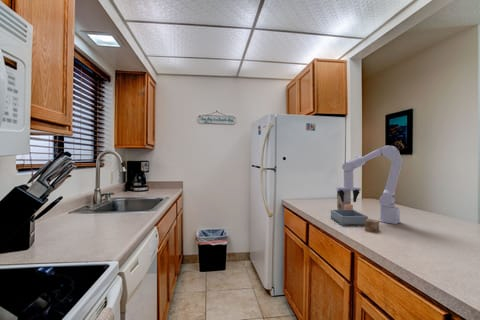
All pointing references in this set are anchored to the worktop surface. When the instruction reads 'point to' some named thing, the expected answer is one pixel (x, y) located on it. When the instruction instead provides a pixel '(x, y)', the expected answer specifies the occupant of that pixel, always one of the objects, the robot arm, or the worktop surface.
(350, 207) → the peach rounded cylinder
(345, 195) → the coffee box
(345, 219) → the slate tote
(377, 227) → the walnut block
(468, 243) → the worktop surface
